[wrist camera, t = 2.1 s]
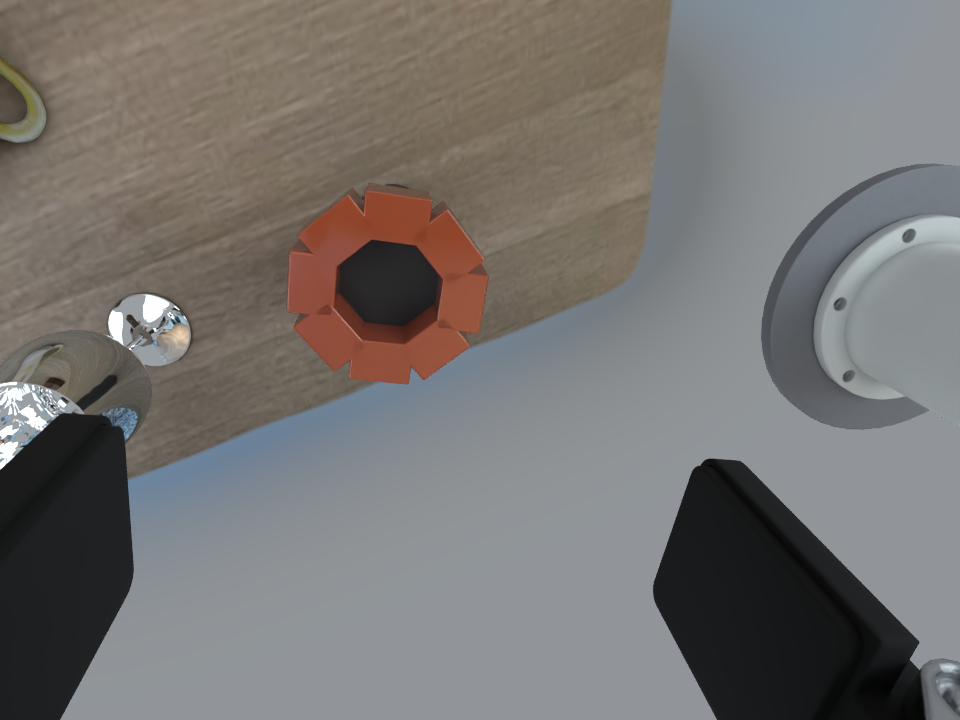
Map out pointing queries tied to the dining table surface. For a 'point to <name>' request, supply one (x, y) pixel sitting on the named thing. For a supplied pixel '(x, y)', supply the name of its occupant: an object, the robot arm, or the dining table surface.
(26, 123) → the mug
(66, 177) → the dining table surface
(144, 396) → the wineglass
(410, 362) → the ring
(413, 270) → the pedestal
